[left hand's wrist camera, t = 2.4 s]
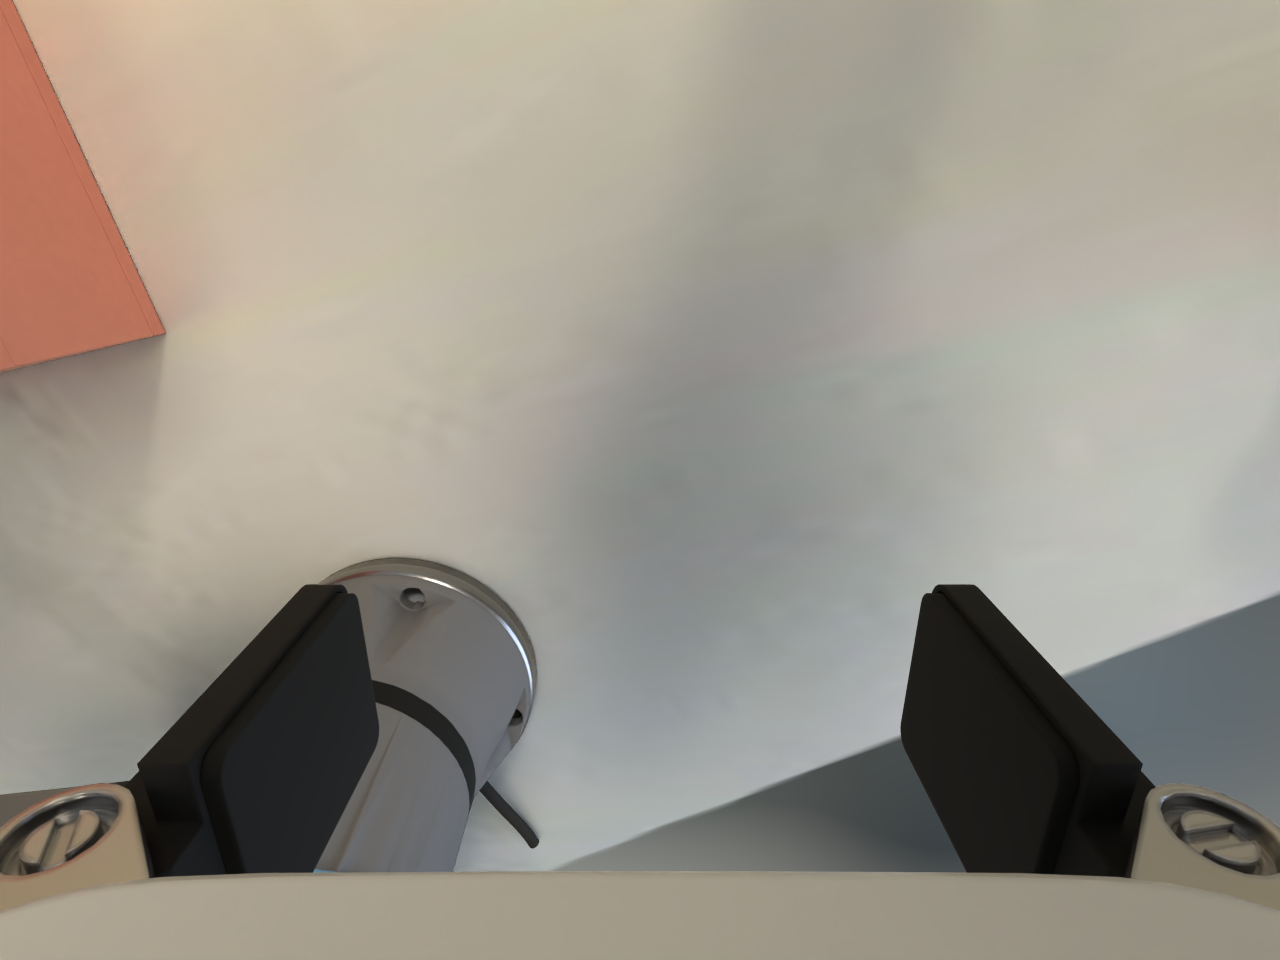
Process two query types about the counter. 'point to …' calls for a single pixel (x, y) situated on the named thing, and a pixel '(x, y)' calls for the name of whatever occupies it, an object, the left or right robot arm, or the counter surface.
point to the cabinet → (55, 227)
